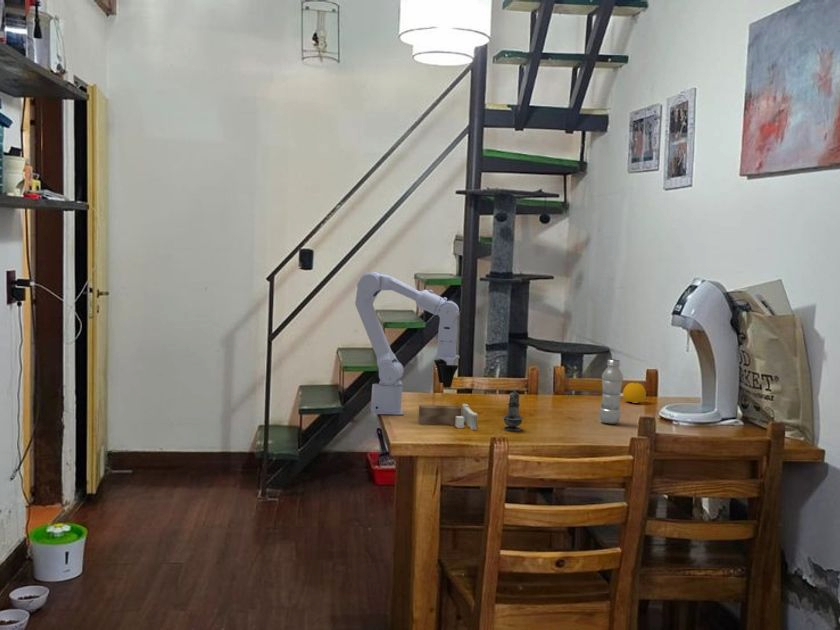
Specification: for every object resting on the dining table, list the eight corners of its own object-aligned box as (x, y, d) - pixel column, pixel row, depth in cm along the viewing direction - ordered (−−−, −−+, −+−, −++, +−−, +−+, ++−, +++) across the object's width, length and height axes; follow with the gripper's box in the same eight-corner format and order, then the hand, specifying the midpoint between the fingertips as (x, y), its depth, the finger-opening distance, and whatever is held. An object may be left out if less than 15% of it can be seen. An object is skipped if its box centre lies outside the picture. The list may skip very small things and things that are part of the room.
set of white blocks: (457, 429, 233) (458, 414, 233) (448, 418, 248) (449, 403, 248) (476, 429, 234) (477, 414, 234) (466, 418, 249) (467, 404, 249)
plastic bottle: (609, 426, 249) (614, 361, 247) (593, 421, 254) (598, 358, 253) (624, 425, 252) (629, 361, 250) (608, 420, 258) (613, 358, 256)
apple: (629, 405, 286) (630, 384, 286) (618, 400, 294) (620, 380, 293) (649, 405, 288) (651, 384, 288) (638, 400, 296) (640, 380, 295)
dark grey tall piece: (519, 427, 241) (521, 387, 240) (524, 431, 235) (527, 391, 234) (499, 427, 240) (502, 386, 239) (505, 431, 234) (507, 390, 233)
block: (420, 424, 238) (420, 407, 237) (418, 421, 241) (419, 405, 241) (460, 425, 239) (461, 408, 239) (457, 422, 243) (458, 406, 242)
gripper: (464, 344, 241) (462, 389, 242) (455, 338, 255) (453, 381, 256) (441, 343, 240) (438, 389, 241) (433, 337, 254) (431, 380, 255)
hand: (444, 385), depth 249 cm, fingers open, 7 cm apart
